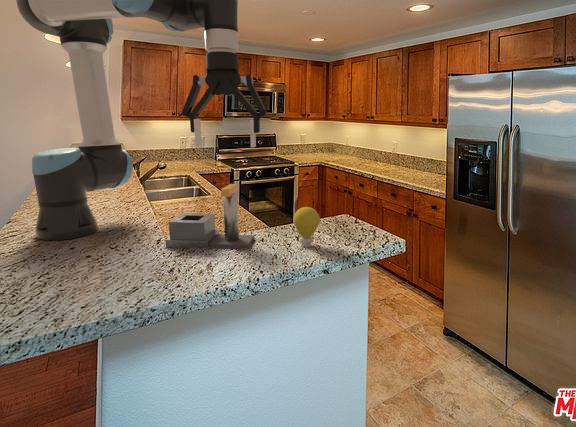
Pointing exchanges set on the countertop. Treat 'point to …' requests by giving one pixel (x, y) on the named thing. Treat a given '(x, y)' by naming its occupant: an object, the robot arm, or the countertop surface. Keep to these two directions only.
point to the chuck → (192, 231)
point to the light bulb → (306, 224)
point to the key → (230, 212)
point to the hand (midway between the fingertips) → (225, 146)
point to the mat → (232, 242)
